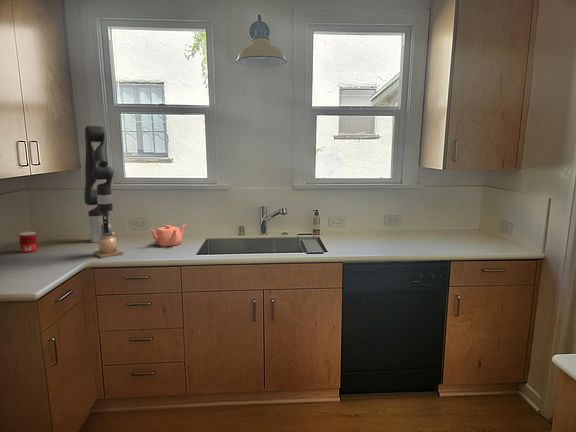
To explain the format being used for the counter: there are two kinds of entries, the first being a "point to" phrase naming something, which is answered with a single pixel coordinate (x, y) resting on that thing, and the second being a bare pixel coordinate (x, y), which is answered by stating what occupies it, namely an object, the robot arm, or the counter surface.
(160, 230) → the pot
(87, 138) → the robot arm
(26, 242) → the canned food
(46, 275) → the counter surface
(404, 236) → the counter surface
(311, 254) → the counter surface
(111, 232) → the cap
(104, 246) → the canister
